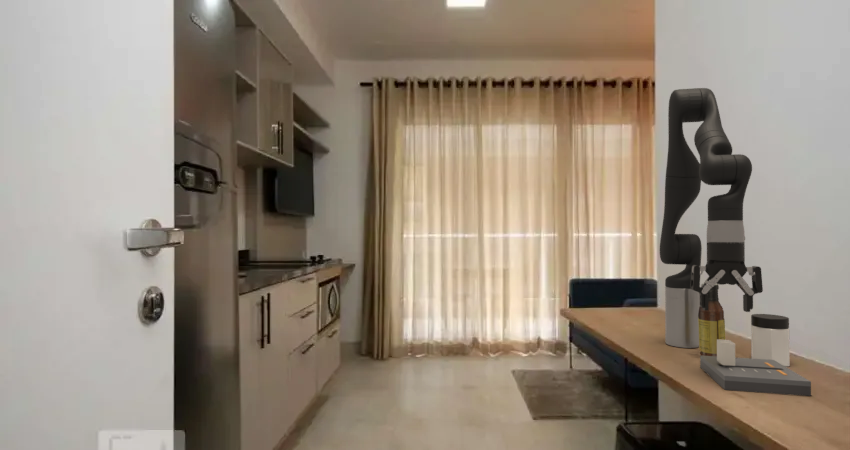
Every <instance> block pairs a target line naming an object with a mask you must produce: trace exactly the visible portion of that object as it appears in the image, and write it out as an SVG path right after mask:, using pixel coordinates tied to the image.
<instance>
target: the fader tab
mask: <svg viewBox="0 0 850 450" xmlns="http://www.w3.org/2000/svg"><path fill="white" fill-rule="evenodd" d="M735 358H736V343H735V342H733V341H732V340H731V339H725V340H721V339H717V361H718V362H719V363H721V364H722V365H723V366H725V367H728V365H730V366H735Z"/></svg>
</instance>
